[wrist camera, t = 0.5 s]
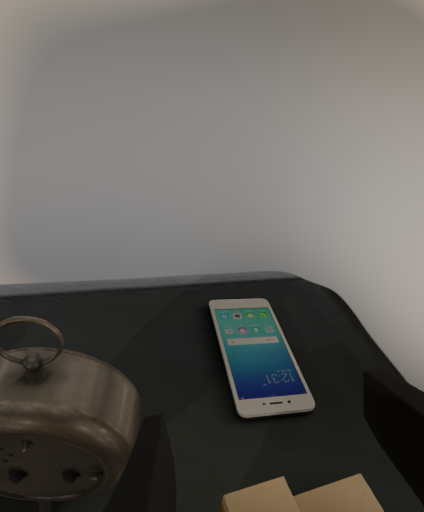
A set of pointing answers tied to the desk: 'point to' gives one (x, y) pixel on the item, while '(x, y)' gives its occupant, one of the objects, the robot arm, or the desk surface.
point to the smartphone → (258, 361)
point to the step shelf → (303, 498)
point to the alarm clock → (62, 422)
